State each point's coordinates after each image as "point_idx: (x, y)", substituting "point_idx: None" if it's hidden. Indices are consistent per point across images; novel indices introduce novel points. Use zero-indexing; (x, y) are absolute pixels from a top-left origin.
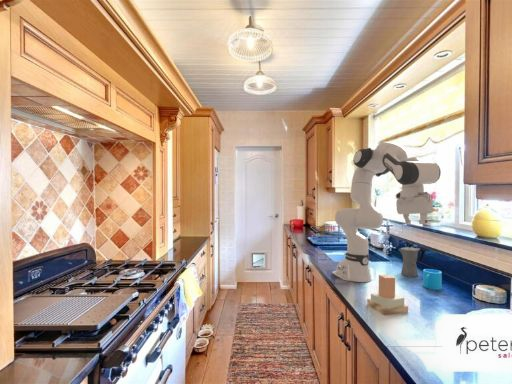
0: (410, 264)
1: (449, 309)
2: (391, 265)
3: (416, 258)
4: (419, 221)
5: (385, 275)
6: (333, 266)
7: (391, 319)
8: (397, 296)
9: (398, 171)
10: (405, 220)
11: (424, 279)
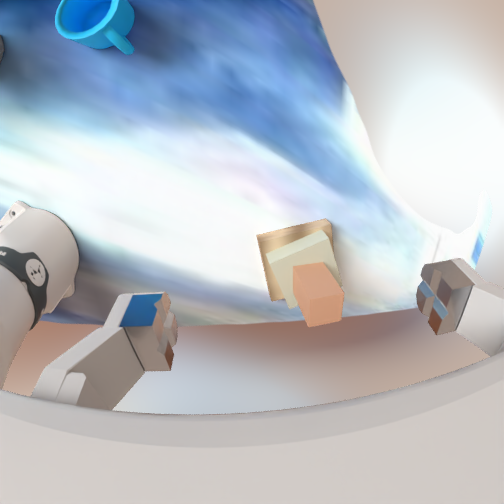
0: None
1: (317, 91)
2: None
3: None
4: (432, 320)
5: (316, 311)
6: None
7: (351, 271)
8: (317, 252)
9: None
10: (134, 366)
11: (95, 44)
